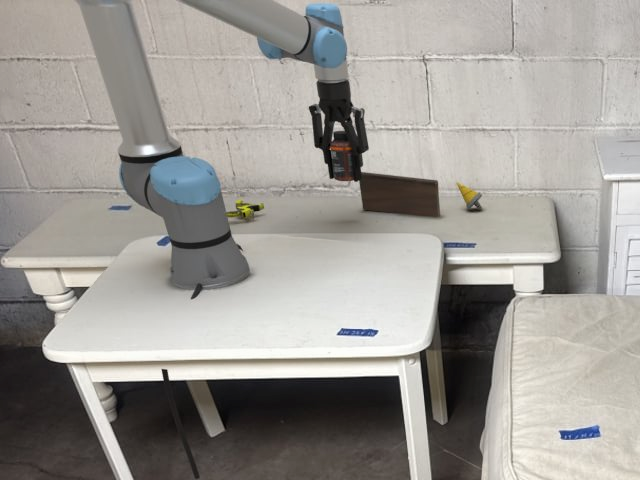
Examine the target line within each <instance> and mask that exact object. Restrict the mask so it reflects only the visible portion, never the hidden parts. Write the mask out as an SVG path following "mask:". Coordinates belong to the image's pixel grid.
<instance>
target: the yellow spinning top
mask: <svg viewBox="0 0 640 480" xmlns="http://www.w3.org/2000/svg"><path fill="white" fill-rule="evenodd" d="M456 185H457V187H458V190H459V191H460V194H461V196H462V198H463V200H464V203H465V207H466V209H468V210H470V209H471V208H472V207H473V206H475V207H476V208H477V209H480V210H483V206H482V205H481V203H480V201H479V200H481V198H482V196H483V194H482V193H481V192H480V191H479V192H477V191H475V190H473V189H472V188H469V187H467V186H466V185H464V184H462V183H459V182H456Z"/></svg>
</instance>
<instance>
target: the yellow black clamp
mask: <svg viewBox="0 0 640 480" xmlns="http://www.w3.org/2000/svg"><path fill="white" fill-rule="evenodd" d="M264 209H265V205H264V202H261V203H258V204H256V203H255V204H253V203H249V202H244V200H243V199H242V198H240V199H237V200H236V201H235V210H230V211H226V213H227V217H228V218H237V217H238V218H239V217H243V218H244V219H247V218H249V217H250V216H252V218H253V220H255V217H254V215H255V212H260V211H263V210H264Z"/></svg>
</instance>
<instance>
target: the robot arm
mask: <svg viewBox="0 0 640 480" xmlns="http://www.w3.org/2000/svg"><path fill="white" fill-rule="evenodd" d="M73 1H74V2H75V3H76V4H77V5H78V6H79V9H80V12H81V15H82V18H83V22H84V24H85V28H86V31H87V34H88V37H89V39H90V43H91V46H92V49H93V52H94V55H95V58H96V62H97V65H98V67H99V71H100V74H101V77H102V79H103V80H102V81H103V83H104V86H105V89H106V92H107V95H108V99H109V101H110V105H111V108H112V112H113V115H114V117H115V120H116V123H117V126H118V130H119V132H120V135H121V136H120V137H121V138H122V142H121V143H120V144H119V146H118V148H117V154H118V157H119V159H120V164H119V167H118V168H119V170H118V171H119V172H118V175H119V177H118V178H119V181H120V184H121V186H122V189H123V190H124V191H125V192H126V194H127V195H128V196H129V198H131V199H132V200H133V201H134V202H135V203H136V204H138V205H139V206H141V207H143V208H145V209H147V210H148V211H150V212H152V213H154V214H155V215H157V216H159V217H161V218H162V220H163V222H164V227H165V229H166V232H167V235H168V239H169V241H170V246H171V252H170V253H171V254H170V257H171V258H170V266H171V267H170V279H171V282H172V284H173V285H174V286H175V287H176V288H180V289H184V290H191V291H192V290H193V293H192V295H191V297H190V300H194V299H196V298H197V297H198V296H199V294H200V292H201V291H204V290H214V289H221V288H226V287H229V286H233V285H237V284H239V283H241V282H243V281H245V280H246V279H247V278H248V277H249V276H250V273H251V269H250V264H249V261H248V260H247V258H246V256H245V255H244V254H243V253H242V252H244V249H243V247H242V245H240V244H238V243H237V242H236V241H235V239H234V237H233V234H232V230H231V227H230V222H229V217H227V213H226V212H227V210H226V206H225V205H226V204H225V200H224V197H223V192H222V189H221V182H220V179H219V177H218V175H217V172H216V170H215V168H214V166H213V165H211V163H209V162H208V161H206V160H204V159H202V158H199V157H190V156H185V155H184V152H183V149H182V145H181V142H180V141H179V140H178V139H176V138H174V136H172V135H170V132H169V128H168V125H167V121H166V117H165V115H164V111H163V107H162V104H161V100H160V98H159V93H158V90H157V87H156V83H155V79H154V75H153V71H152V69H151V64H150V61H149V58H148V55H147V51H146V48H145V43H144V41H143V36H142V34H141V30H140V26H139V24H138V19H137V16H136V13H135V9H134V5H133V0H73ZM176 1H178V2H180V3H182V4H183V5H186V6H188V7H190V8H192V9H194V10H197V11H198V12H201V13H203V14H206V15H208V16H210V17H212V18H214V19H216V20H219V21H220V22H223V23H224V24H226V25H229V26H231V27H233V28H236V29H238V30H239V31H242V32H245V33H246V34H248V35H250V36H253V37H255V38H256V42H257V45H258V48H259V50H260V51H261V53H262V55H263V56H264V57H265V58H267V59H269V60H282V59H291V60H295V61H299V62H303V63H307V64H311V65H313V69H314V77H315V79H316V80H317V81H316V91H317V96H318V98H319V101H318V103H314V104H312V105H309V106H308V111H309V114H310V116H311V123H312V134H313V145H314V147H315V148H316V149H320V150H321V152H322V155H323V160H324V161H323V163H324V164H325V165H327V169H328V171H327V172H328V176H329V179H330V180H334V174H333V165H332V155H331V146H330V144H331V142H332V141H333V132H334V128H335V123H339V124H340V125H341V127H342V128H343V131H345V133H346V135H347V138H348V140H349V143H350V145H351V148H352V150H353V154H352V155H351V160H352V168H353V176H354V180H353V182H355V183H359V180H361V179H362V174H361V172H362V167H363V166H364V161H363V154H364V153H366V152H368V151H369V149H370V146H369V141H368V135H367V130H366V124H365V113H366V111H365V108H363V107H361V108H359V107H356V106H354V104H353V102H352V91H351V83H350V80H349V79H348V78H349V77H350V76H349V67H348V59H347V54H348V45H347V41H346V39H345V33H344V24H343V19H342V14H341V10H340V8H339V6H337V4H333V3H328V2H327V3H326V2H325V3H311V4H307V5H306V6H305V13H304V15H302V14H301V13H299V12H296V11H295V10H293V9H291V8H289V7H287V6H285V5H283V4H281V3H280V2H277V1H275V0H176ZM322 113H323V115H324V118H323V117H322ZM351 114H352V115H351ZM352 117H353V118H354V125H355V127H354V125H353V118H352ZM323 119H324V120H323ZM323 124H324V126H323ZM161 374H162V379H163V384H164V388H165V393H166V396H167V400H168V404H169V407H170V410H171V414H172V417H173V420H174V423H175V426H176V430H177V432H178V435H179V438H180V440H181V443H182V446H183V449H184V451H185V454H186V457H187V459H188V463H189V466H190V468H191V471H192V475H193V477H194V479H195V480H198V479H200V478H201V476H200V473H199V470H198V467H197V464H196V462H195V458H194V455H193V453H192V449H191V447H190V444H189V441H188V439H187V436H186V433H185V429H184V427H183V424H182V421H181V418H180V415H179V412H178V408H177V404H176V400H175V397H174V394H173V389H172V385H171V382H170V377H169V369H167V368H161Z"/></svg>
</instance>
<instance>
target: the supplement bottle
mask: <svg viewBox="0 0 640 480" xmlns="http://www.w3.org/2000/svg"><path fill="white" fill-rule="evenodd" d="M330 146H331V148H330V150H331V155H332V165H333V174H334V178H333V180H335V181H338V182H354V176H353V168H352V160H351V155H352V154H353V150H352V148H351V145H350V143H349V140H348V138H347V135H346V133H345V130H336V131H333V135H332V142H331V144H330Z"/></svg>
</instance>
